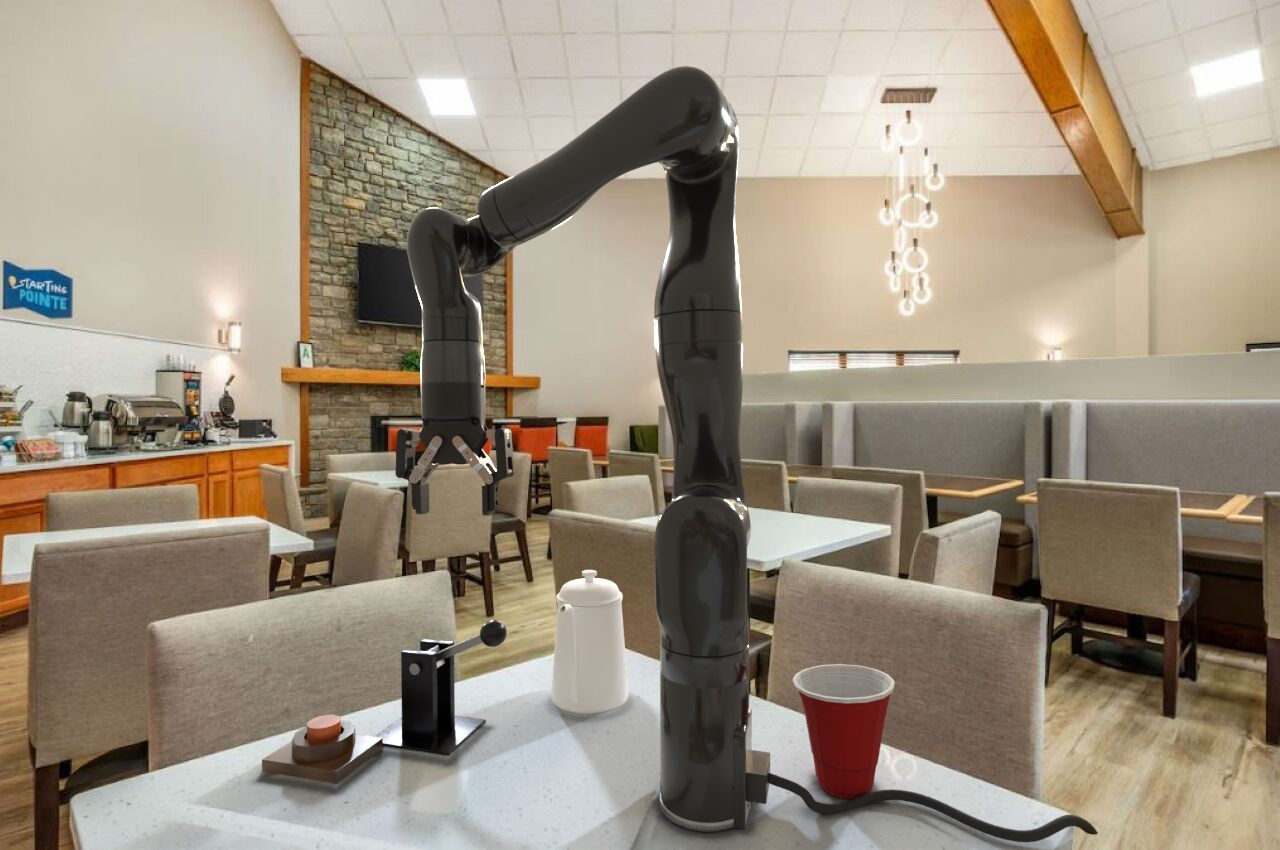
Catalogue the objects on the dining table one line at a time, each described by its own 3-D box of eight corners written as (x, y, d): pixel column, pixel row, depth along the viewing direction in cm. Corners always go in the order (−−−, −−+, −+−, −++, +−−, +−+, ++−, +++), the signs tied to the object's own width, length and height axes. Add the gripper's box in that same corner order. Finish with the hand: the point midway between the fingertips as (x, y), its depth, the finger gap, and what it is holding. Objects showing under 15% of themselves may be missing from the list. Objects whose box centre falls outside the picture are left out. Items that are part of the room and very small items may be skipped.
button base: (383, 755, 81) (383, 722, 81) (336, 792, 73) (336, 755, 73) (313, 744, 84) (313, 713, 83) (261, 778, 76) (261, 743, 76)
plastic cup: (813, 750, 82) (814, 652, 82) (906, 778, 76) (906, 672, 75) (776, 790, 73) (776, 681, 73) (877, 826, 67) (878, 706, 67)
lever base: (485, 728, 88) (485, 638, 87) (448, 763, 79) (447, 663, 79) (412, 718, 91) (411, 631, 90) (368, 750, 82) (367, 654, 82)
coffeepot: (519, 742, 84) (518, 592, 83) (577, 667, 108) (577, 551, 108) (604, 751, 82) (603, 597, 81) (644, 672, 106) (643, 554, 106)
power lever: (515, 637, 83) (504, 612, 83) (503, 645, 80) (492, 620, 80) (431, 671, 86) (422, 648, 87) (416, 681, 83) (407, 656, 84)
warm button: (347, 731, 79) (347, 716, 79) (325, 745, 76) (325, 730, 76) (322, 727, 80) (322, 712, 80) (299, 741, 77) (299, 726, 77)
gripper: (382, 380, 79) (384, 518, 79) (497, 378, 77) (499, 520, 77) (414, 383, 86) (416, 509, 87) (520, 380, 84) (522, 510, 84)
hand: (455, 514), depth 82 cm, fingers open, 8 cm apart
